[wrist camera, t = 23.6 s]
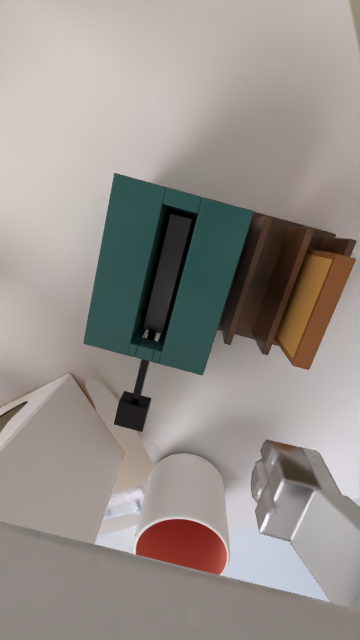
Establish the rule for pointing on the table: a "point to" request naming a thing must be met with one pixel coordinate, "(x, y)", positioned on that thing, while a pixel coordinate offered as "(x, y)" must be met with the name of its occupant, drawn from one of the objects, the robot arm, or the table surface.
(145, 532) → the cup
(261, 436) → the table surface
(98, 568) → the robot arm
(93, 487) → the gable box
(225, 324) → the toast rack
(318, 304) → the toast
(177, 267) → the carriage
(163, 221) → the toaster
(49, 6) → the table surface
